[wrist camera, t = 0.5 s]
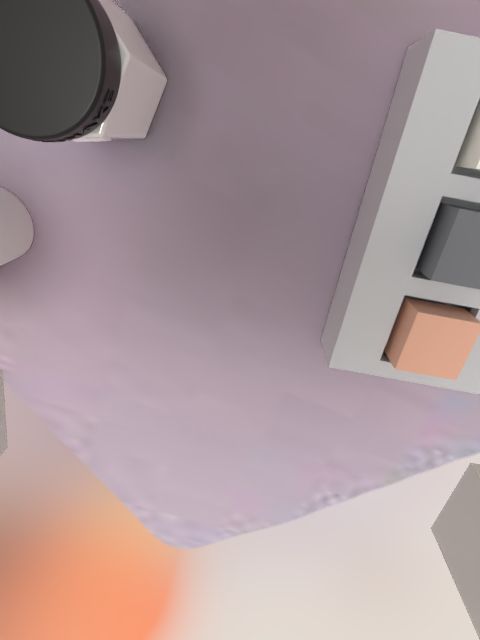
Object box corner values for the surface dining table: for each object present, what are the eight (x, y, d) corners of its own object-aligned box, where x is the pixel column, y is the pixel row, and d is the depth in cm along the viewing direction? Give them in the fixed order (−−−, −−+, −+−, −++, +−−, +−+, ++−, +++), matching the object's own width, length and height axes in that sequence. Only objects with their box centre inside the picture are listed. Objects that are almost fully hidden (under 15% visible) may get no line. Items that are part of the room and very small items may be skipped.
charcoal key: (440, 202, 28) (459, 208, 25) (507, 215, 28) (533, 223, 26) (415, 267, 30) (430, 280, 28) (477, 279, 30) (499, 293, 28)
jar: (64, 144, 32) (-40, 145, 21) (40, 21, 28) (-100, -56, 17) (173, 140, 31) (125, 138, 20) (161, 14, 28) (96, -70, 17)
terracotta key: (404, 297, 31) (417, 312, 29) (464, 308, 31) (483, 324, 29) (384, 350, 33) (394, 369, 31) (440, 360, 33) (456, 380, 31)
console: (407, 47, 28) (435, 28, 23) (596, 85, 28) (660, 74, 24) (320, 340, 38) (328, 367, 33) (460, 365, 38) (487, 395, 34)
